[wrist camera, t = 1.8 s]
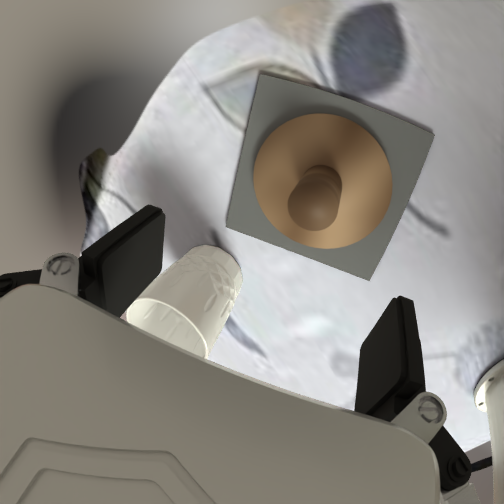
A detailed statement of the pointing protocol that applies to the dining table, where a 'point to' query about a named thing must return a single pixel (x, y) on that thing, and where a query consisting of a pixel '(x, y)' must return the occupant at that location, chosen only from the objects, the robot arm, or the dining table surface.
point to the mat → (374, 121)
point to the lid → (323, 181)
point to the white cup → (190, 300)
